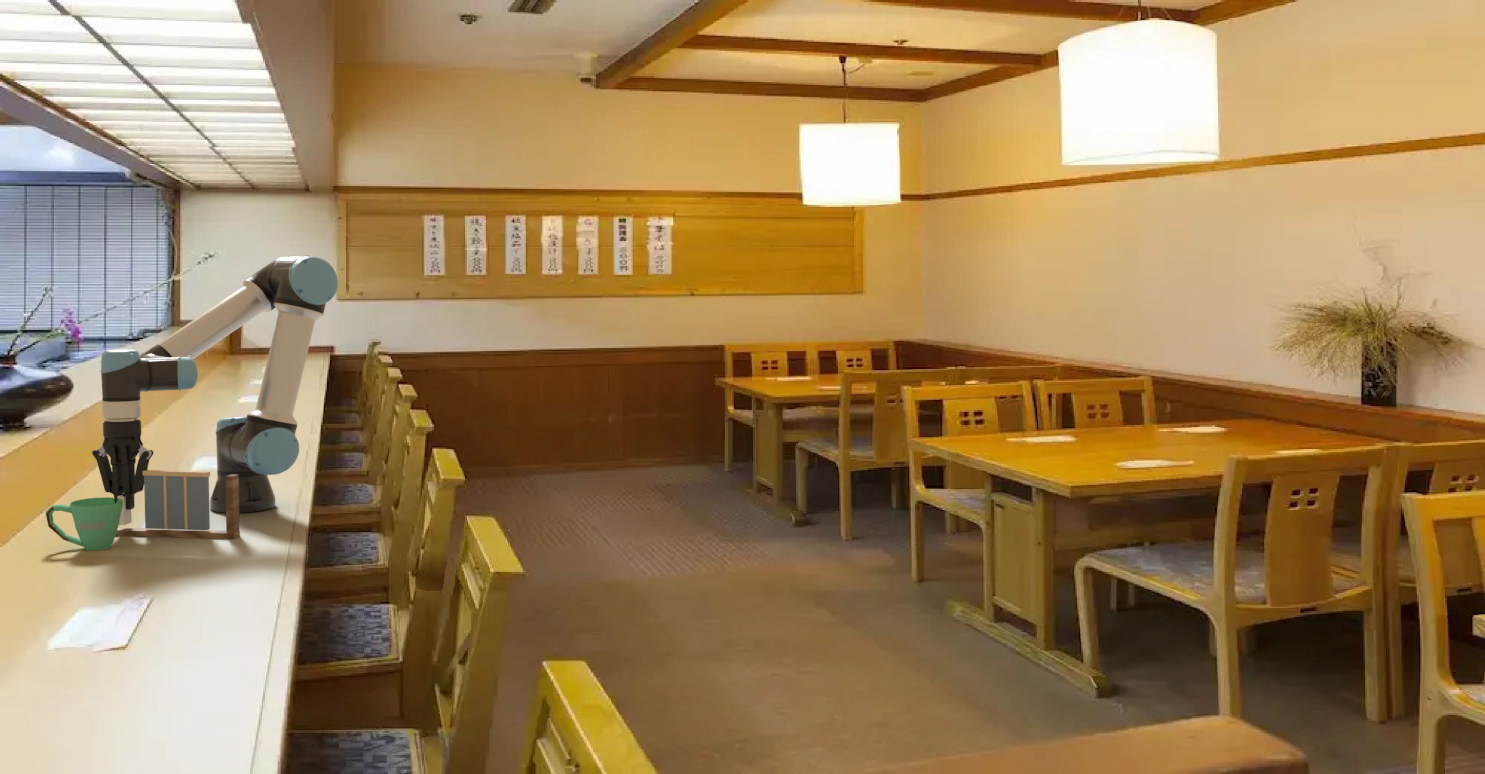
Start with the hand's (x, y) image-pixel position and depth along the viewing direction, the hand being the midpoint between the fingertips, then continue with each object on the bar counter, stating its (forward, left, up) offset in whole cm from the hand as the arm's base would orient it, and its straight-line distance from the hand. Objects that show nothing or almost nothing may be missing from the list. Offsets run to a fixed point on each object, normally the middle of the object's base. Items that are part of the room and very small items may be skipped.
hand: (124, 523), depth 260 cm
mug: (0, +15, -3) cm, 15 cm away
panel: (-12, +1, -1) cm, 12 cm away
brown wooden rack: (-10, +1, -2) cm, 11 cm away
